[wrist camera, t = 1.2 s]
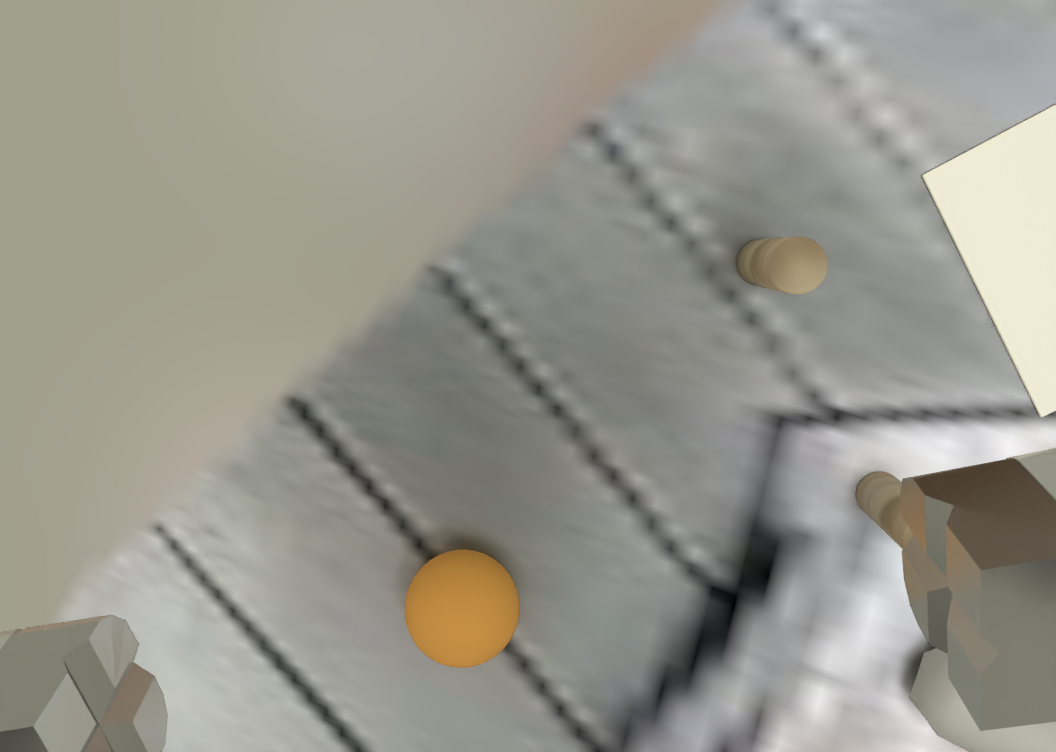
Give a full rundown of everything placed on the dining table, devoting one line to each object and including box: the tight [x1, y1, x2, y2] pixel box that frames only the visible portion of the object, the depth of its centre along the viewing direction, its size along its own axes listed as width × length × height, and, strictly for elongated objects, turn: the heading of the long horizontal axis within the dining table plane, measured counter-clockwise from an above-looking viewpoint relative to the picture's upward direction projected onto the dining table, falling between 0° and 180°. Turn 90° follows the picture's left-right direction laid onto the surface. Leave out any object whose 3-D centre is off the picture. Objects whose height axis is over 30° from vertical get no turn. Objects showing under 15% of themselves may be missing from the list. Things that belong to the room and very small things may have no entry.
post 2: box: [856, 472, 914, 549], centre depth 44 cm, size 2×2×9 cm
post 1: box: [736, 237, 828, 294], centre depth 43 cm, size 2×2×9 cm
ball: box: [405, 550, 520, 668], centre depth 48 cm, size 6×6×6 cm
